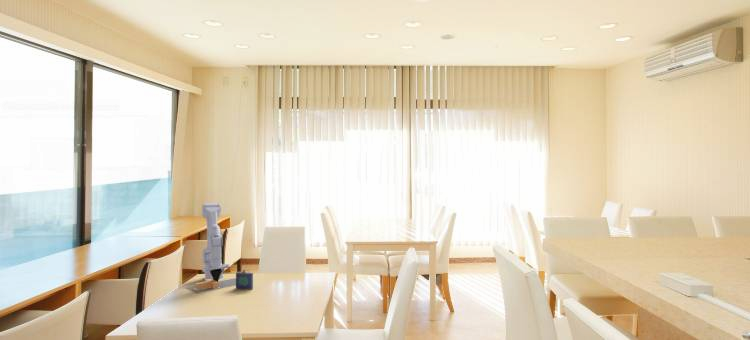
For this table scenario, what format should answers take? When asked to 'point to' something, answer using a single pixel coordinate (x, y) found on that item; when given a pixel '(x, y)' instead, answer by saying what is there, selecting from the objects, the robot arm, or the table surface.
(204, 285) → the t block
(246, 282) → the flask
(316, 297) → the table surface
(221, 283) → the mat
